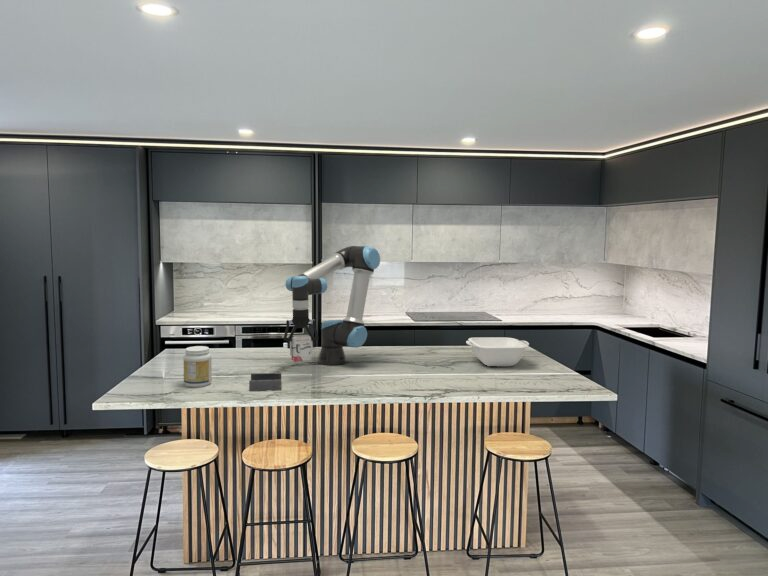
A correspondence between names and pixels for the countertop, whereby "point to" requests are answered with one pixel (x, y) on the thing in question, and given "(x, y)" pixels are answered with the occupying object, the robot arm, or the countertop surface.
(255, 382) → the cradle
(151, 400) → the countertop surface
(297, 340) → the ink box
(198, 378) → the supplement tub
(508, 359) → the baking dish
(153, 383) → the countertop surface
